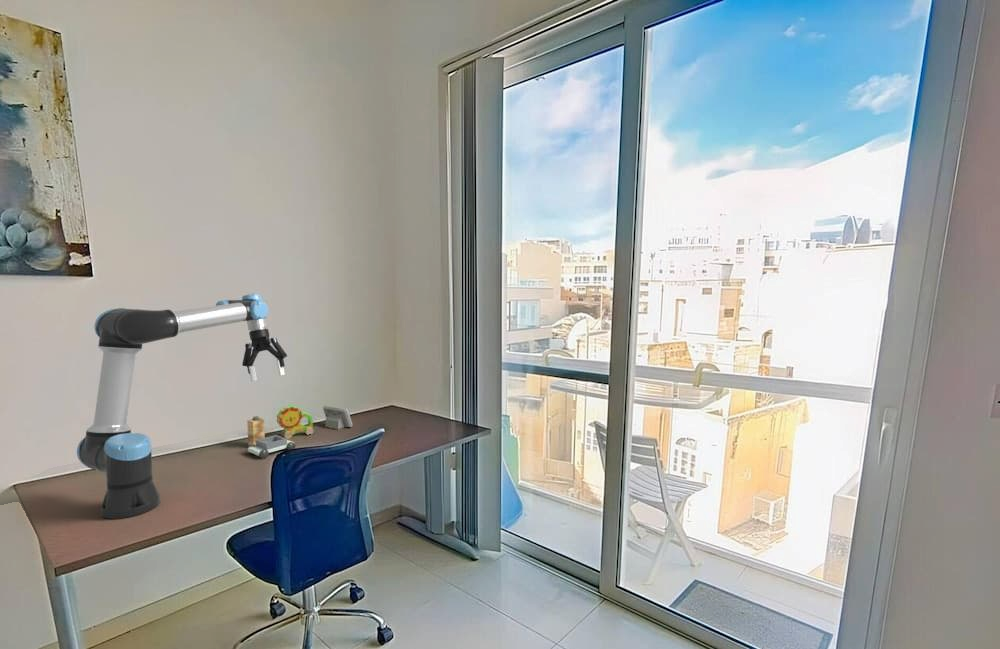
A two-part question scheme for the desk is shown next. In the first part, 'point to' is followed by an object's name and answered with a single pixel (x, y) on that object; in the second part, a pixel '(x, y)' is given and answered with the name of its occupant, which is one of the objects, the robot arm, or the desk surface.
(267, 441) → the chassis
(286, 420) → the toy lion
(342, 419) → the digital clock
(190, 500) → the desk surface
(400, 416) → the desk surface
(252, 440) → the tall wooden block
